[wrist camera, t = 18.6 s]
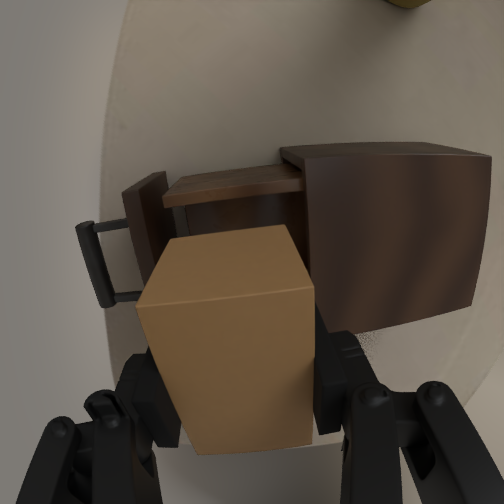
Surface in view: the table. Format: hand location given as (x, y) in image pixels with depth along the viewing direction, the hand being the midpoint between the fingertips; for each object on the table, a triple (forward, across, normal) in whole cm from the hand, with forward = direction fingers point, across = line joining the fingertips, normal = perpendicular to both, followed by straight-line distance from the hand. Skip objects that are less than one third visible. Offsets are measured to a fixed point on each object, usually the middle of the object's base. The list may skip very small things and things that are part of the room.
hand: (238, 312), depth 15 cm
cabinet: (+14, +12, 0) cm, 19 cm away
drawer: (+13, -3, 0) cm, 14 cm away
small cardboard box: (0, 0, 0) cm, 0 cm away
